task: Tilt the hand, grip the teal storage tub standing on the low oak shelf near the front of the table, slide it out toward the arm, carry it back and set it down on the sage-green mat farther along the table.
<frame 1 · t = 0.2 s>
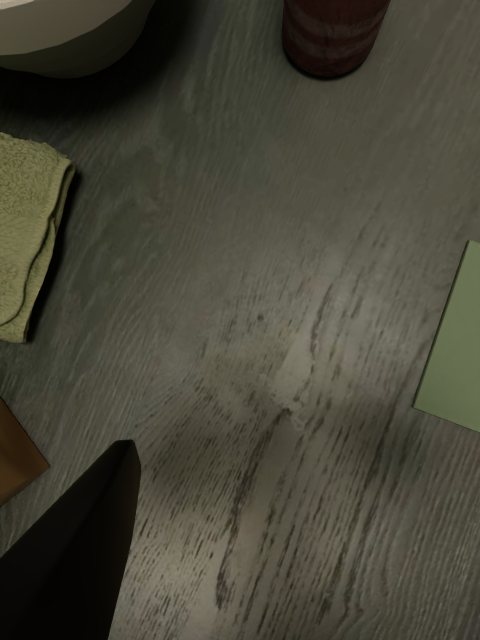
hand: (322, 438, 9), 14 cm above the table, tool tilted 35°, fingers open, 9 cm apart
can: (325, 43, 25), on the table
bowl: (73, 10, 26), on the table
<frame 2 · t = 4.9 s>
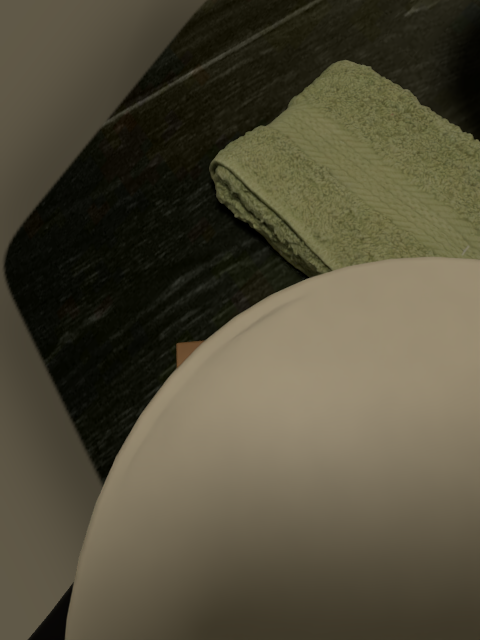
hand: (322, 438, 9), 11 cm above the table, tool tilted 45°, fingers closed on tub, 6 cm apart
washcloth: (374, 216, 23), on the table
shelf: (292, 467, 19), on the table
tub: (302, 477, 14), point 5 cm above the table, touching gripper, shelf
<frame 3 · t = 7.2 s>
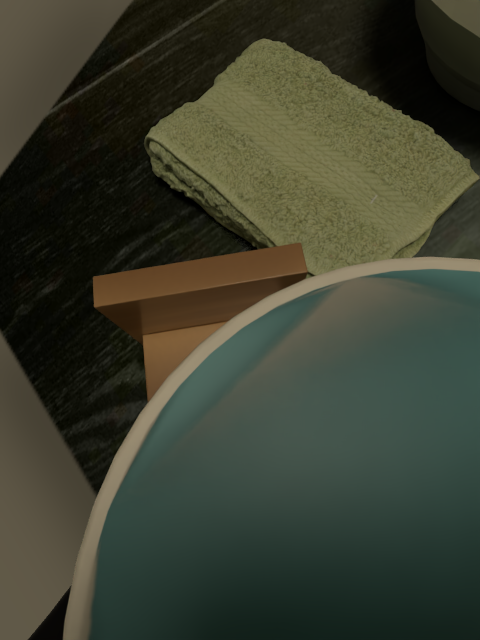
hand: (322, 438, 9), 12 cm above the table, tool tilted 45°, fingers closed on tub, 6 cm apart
washcloth: (300, 179, 25), on the table
shelf: (232, 405, 21), on the table
tub: (302, 477, 14), point 6 cm above the table, touching gripper
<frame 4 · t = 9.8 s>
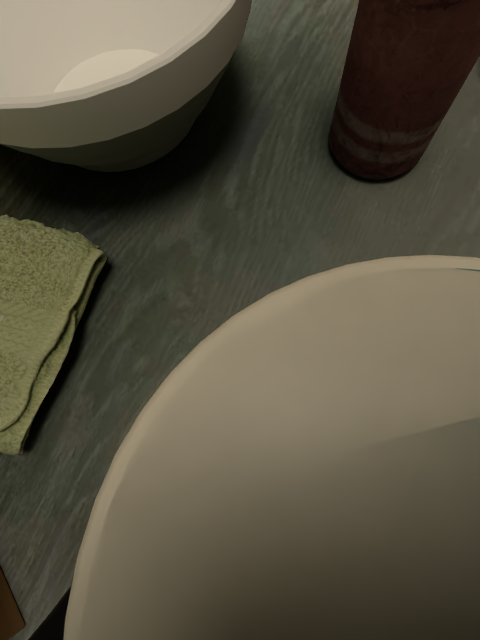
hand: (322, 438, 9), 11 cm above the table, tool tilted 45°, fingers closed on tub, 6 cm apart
can: (372, 148, 25), on the table
bowl: (123, 112, 27), on the table
tub: (302, 477, 14), point 6 cm above the table, touching gripper
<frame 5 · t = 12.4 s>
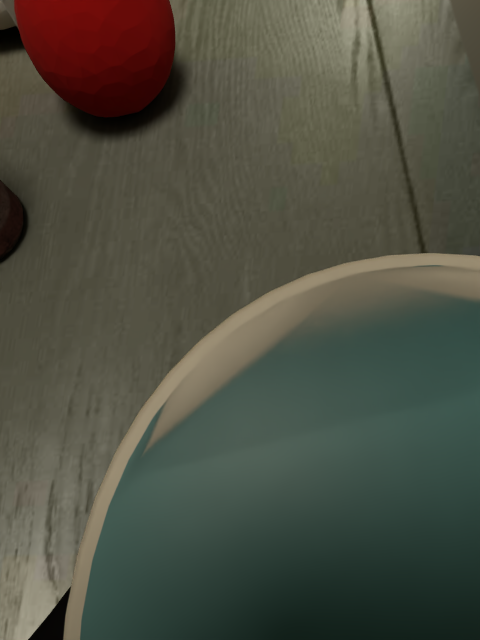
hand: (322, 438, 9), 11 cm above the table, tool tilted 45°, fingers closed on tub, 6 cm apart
fruit: (124, 93, 28), on the table
tub: (302, 476, 14), point 6 cm above the table, touching gripper
when the fingers open (6 cm above the table, at t = 14.7 s): tub stays where it is, resting on mat.
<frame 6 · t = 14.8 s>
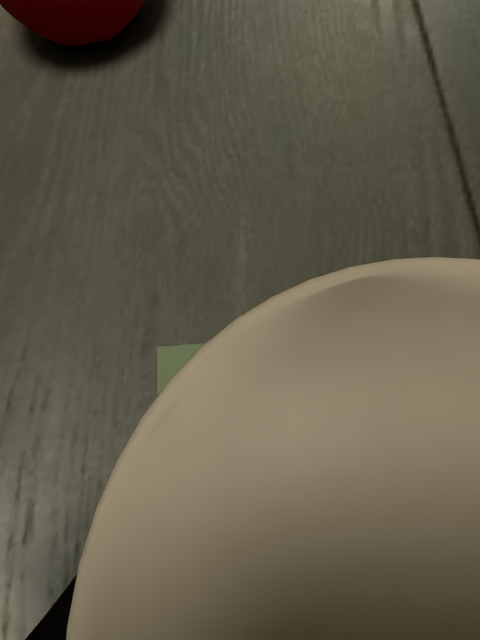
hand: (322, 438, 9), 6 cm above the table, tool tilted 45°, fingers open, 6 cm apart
mat: (303, 477, 14), on the table
fruit: (95, 21, 23), on the table
tub: (303, 478, 14), resting on mat
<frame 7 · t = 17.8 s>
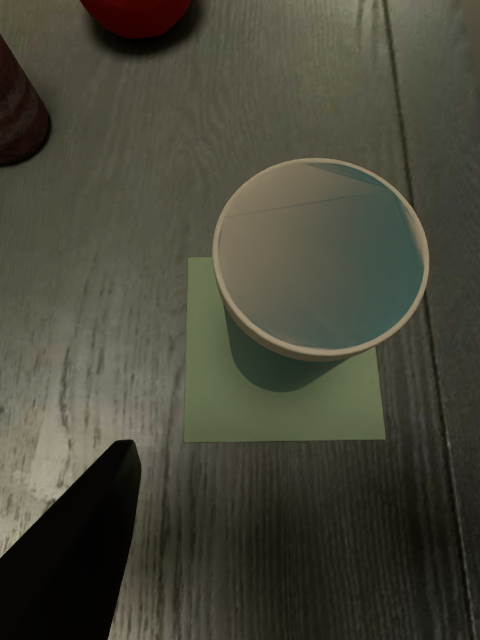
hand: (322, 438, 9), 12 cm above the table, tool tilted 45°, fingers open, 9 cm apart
can: (9, 134, 27), on the table
mat: (279, 343, 22), on the table
fruit: (146, 19, 30), on the table
tub: (279, 341, 22), resting on mat
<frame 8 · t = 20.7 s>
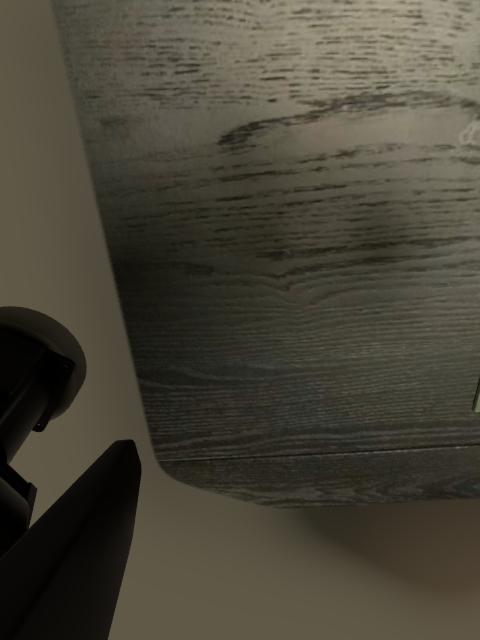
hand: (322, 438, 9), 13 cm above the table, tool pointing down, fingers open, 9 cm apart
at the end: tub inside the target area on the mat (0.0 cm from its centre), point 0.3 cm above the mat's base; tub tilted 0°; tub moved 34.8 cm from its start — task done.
